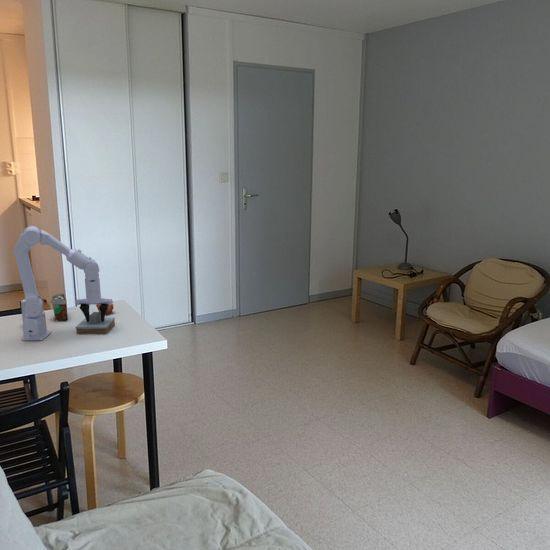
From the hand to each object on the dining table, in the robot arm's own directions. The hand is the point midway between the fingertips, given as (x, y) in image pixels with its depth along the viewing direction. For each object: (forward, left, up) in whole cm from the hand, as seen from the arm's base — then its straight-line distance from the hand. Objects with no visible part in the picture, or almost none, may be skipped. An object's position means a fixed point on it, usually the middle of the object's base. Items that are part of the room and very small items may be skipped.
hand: (95, 321), depth 220 cm
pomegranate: (+22, +3, -4) cm, 23 cm away
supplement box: (+6, +29, -4) cm, 30 cm away
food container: (+15, +21, -4) cm, 26 cm away
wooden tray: (0, 0, -4) cm, 4 cm away
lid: (0, 0, -2) cm, 2 cm away
